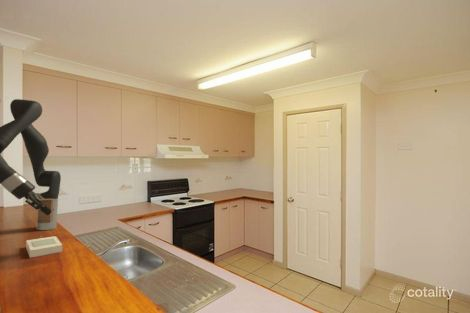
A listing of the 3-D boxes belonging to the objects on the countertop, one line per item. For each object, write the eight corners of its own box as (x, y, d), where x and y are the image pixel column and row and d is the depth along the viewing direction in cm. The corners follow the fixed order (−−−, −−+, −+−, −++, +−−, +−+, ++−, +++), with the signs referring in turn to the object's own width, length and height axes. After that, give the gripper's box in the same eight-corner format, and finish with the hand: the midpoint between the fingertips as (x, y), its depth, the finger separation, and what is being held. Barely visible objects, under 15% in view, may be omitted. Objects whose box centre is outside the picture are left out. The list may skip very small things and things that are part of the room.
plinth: (25, 247, 113) (26, 240, 113) (55, 242, 121) (55, 235, 121) (30, 257, 102) (30, 249, 102) (62, 251, 109) (62, 244, 109)
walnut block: (39, 221, 112) (41, 198, 113) (52, 220, 114) (53, 198, 115) (37, 223, 108) (38, 200, 108) (50, 222, 110) (51, 200, 111)
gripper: (21, 181, 102) (55, 209, 107) (31, 178, 115) (61, 203, 120) (3, 194, 100) (39, 222, 105) (15, 190, 112) (47, 215, 117)
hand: (50, 212), depth 112 cm, fingers closed on walnut block, 4 cm apart
